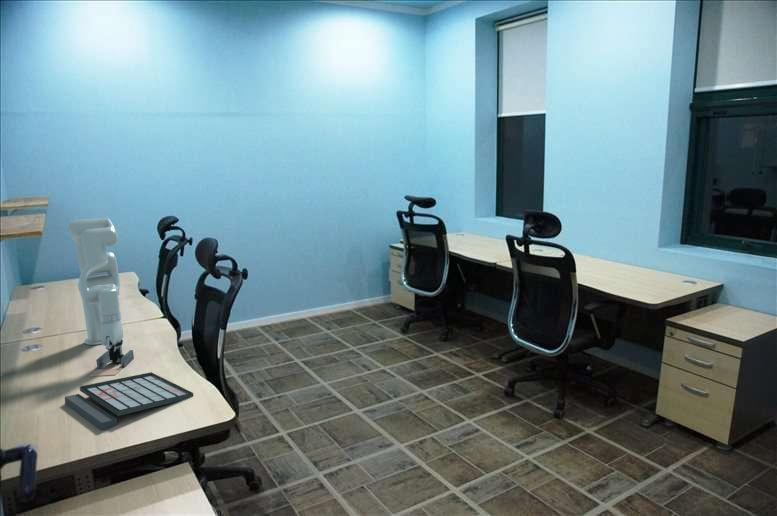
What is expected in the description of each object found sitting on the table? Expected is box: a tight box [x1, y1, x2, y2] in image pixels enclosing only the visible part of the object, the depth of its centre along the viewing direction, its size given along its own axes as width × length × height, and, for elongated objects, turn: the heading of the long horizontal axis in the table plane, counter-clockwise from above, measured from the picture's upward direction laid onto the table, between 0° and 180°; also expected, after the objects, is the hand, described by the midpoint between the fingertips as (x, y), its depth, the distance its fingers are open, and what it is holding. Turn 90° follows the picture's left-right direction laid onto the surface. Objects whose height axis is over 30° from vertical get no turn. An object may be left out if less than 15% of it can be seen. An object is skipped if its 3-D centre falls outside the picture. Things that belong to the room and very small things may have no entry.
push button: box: [108, 339, 125, 364], centre depth 228 cm, size 7×5×10 cm
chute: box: [95, 349, 135, 370], centre depth 227 cm, size 10×11×4 cm
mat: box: [89, 367, 123, 378], centre depth 218 cm, size 7×10×1 cm, turn 94°
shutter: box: [64, 371, 194, 432], centre depth 193 cm, size 32×7×31 cm
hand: (116, 357), depth 229 cm, fingers closed on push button, 3 cm apart
